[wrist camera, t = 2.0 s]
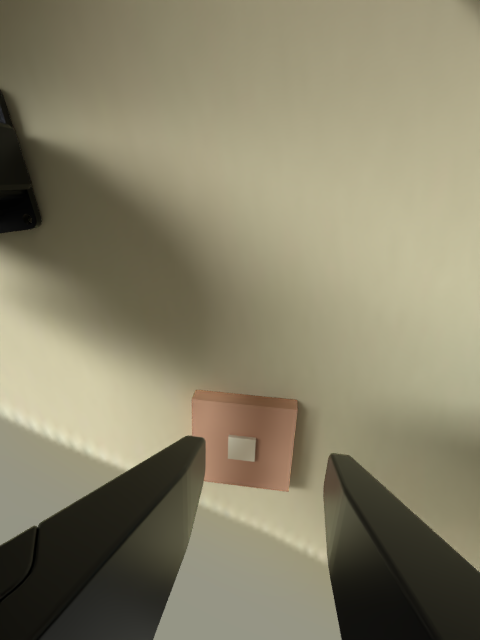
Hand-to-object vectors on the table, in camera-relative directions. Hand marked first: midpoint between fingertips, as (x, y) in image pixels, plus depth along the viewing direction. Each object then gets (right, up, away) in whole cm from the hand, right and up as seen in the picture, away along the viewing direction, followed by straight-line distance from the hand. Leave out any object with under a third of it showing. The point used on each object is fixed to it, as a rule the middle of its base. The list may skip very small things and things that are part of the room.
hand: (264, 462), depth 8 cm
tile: (0, -4, +15) cm, 16 cm away
